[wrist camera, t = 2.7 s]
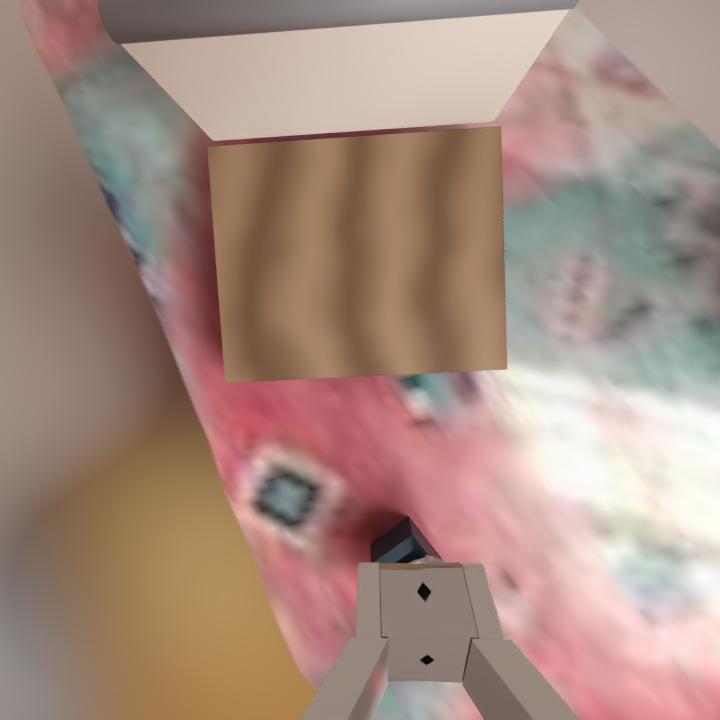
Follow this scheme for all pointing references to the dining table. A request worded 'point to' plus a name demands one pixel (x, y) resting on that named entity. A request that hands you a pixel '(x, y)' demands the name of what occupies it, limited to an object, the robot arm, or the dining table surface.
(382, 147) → the brown flat block
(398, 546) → the watch
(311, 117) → the panel
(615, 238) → the dining table surface
